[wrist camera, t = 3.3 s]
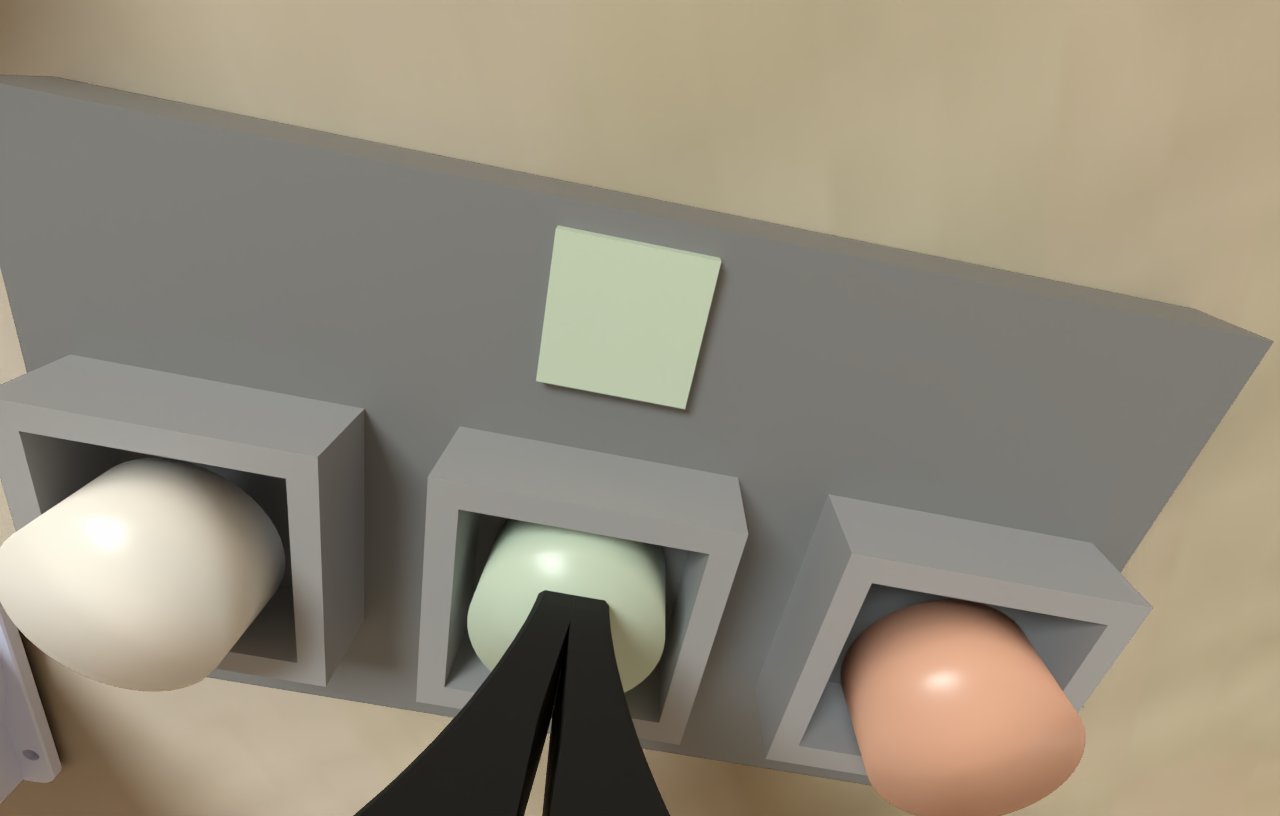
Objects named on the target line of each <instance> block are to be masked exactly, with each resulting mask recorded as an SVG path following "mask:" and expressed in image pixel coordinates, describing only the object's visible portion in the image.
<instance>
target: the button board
mask: <svg viewBox="0 0 1280 816" xmlns="http://www.w3.org/2000/svg"><path fill="white" fill-rule="evenodd" d="M0 267H1V271H2V275H3V279H4V283H5V287H6V291H7V295H8V299H9V303H10V307H11V311H12V315H13V319H14V323H15V327H16V331H17V335H18V339H19V343H20V347H21V351H22V355H23V359H24V363H25V367H26V371H27V373H26V374H24V375H22V376H19V377H17V378H15V379H13V380H10V381H8V382H6V383H3V384H1V385H0V479H1V482H2V486H3V489H4V493H5V496H6V499H7V503H8V506H9V510H10V513H11V516H12V520H13V523H14V527H15V530H16V532H17V531H18V530H20V529H21V528H23V527H24V526H26V525H27V524H28V523H30V522H31V521H33V520H34V519H36V518H37V517H39V516H40V515H42V514H43V513H45V512H46V511H48V510H49V509H51V508H52V507H54V506H55V505H57V504H58V503H60V502H61V501H63V500H64V499H66V498H67V497H69V496H70V495H72V494H73V493H75V492H76V491H78V490H79V489H81V488H82V487H84V486H85V485H87V484H88V483H90V482H91V481H93V480H94V479H96V478H97V477H99V476H100V475H102V474H103V473H105V472H106V471H108V470H109V469H111V468H112V467H114V466H116V465H119V464H121V463H123V462H127V461H131V460H135V459H142V458H166V459H174V460H179V461H183V462H187V463H191V464H194V465H197V466H200V467H203V468H205V469H207V470H209V471H212V472H214V473H216V474H218V475H220V476H222V477H223V478H225V479H227V480H229V481H230V482H232V483H233V484H235V485H236V486H238V487H239V488H240V489H242V490H243V491H244V492H245V493H247V494H248V495H249V496H250V497H251V498H252V499H253V500H254V501H255V502H256V503H257V504H258V505H259V506H260V507H261V508H262V509H263V510H264V512H265V513H266V514H267V515H268V517H269V518H270V520H271V521H272V523H273V524H274V526H275V528H276V530H277V532H278V534H279V536H280V538H281V541H282V544H283V548H284V553H285V572H284V577H283V580H282V582H281V584H280V586H279V588H278V589H277V591H276V593H275V594H274V595H273V596H272V598H271V599H270V600H269V602H268V603H267V604H266V605H265V607H264V608H263V609H262V610H261V612H260V613H259V614H258V615H257V617H256V618H255V619H254V621H253V622H252V623H251V624H250V626H249V627H248V628H247V629H246V631H245V632H244V633H243V634H242V636H241V637H240V638H239V640H238V641H237V642H236V643H235V645H234V646H233V647H232V648H231V650H230V651H229V652H228V653H227V655H226V656H225V657H224V659H223V660H222V661H221V662H220V664H219V665H218V666H217V667H216V668H215V669H214V671H213V672H212V673H211V674H210V675H208V676H207V677H209V678H215V679H221V680H227V681H233V682H240V683H246V684H252V685H258V686H264V687H270V688H276V689H282V690H289V691H295V692H301V693H307V694H313V695H319V696H325V697H332V698H338V699H344V700H350V701H356V702H362V703H368V704H374V705H381V706H387V707H393V708H399V709H405V710H411V711H417V712H423V713H430V714H436V715H442V716H448V717H454V718H455V716H456V715H457V714H458V713H459V712H460V711H461V709H462V708H463V707H464V706H465V705H466V704H467V702H468V701H469V700H470V699H471V697H472V696H473V695H474V693H475V692H476V691H477V690H478V688H479V687H480V686H481V685H482V683H483V682H484V681H485V679H486V678H487V677H488V676H489V674H490V673H491V671H490V670H489V669H488V668H487V667H486V666H485V665H484V664H483V663H482V661H481V660H480V658H479V657H478V656H477V654H476V652H475V650H474V648H473V646H472V644H471V641H470V638H469V633H468V627H467V616H468V611H469V606H470V604H471V601H472V599H473V596H474V593H475V591H476V588H477V586H478V583H479V580H480V578H481V575H482V573H483V570H484V568H485V565H486V562H487V560H488V557H489V555H490V552H491V550H492V547H493V544H494V542H495V539H496V537H497V535H498V533H499V531H500V529H501V528H502V526H503V525H504V524H505V523H506V522H507V520H508V519H515V520H520V521H526V522H532V523H537V524H543V525H549V526H554V527H560V528H565V529H571V530H577V531H582V532H588V533H593V534H599V535H605V536H610V537H616V538H621V539H627V540H633V541H638V542H644V543H649V544H655V545H660V546H661V548H662V551H663V554H664V558H665V565H666V578H665V644H664V649H663V652H662V655H661V658H660V660H659V662H658V663H657V665H656V667H655V668H654V670H653V671H652V672H651V673H650V674H649V676H648V677H646V678H645V679H644V680H643V681H642V682H641V683H640V684H638V685H637V686H635V687H634V688H632V689H630V690H628V691H627V692H625V693H624V694H625V698H626V701H627V705H628V708H629V712H630V715H631V718H632V721H633V724H634V727H635V730H636V733H637V736H638V739H639V742H640V745H641V748H644V749H650V750H656V751H662V752H669V753H675V754H681V755H687V756H693V757H699V758H705V759H711V760H718V761H724V762H730V763H736V764H742V765H748V766H754V767H760V768H767V769H773V770H779V771H785V772H791V773H797V774H803V775H810V776H816V777H822V778H828V779H834V780H840V781H846V782H852V783H859V784H865V785H871V786H872V784H871V783H870V781H869V778H868V776H867V773H866V769H865V766H864V763H863V759H862V756H861V752H860V749H859V745H858V742H857V739H856V735H855V732H854V728H853V725H852V722H851V718H850V715H849V711H848V708H847V704H846V701H845V698H844V694H843V691H842V686H841V681H840V672H841V666H842V662H843V660H844V657H845V655H846V653H847V651H848V649H849V647H850V646H851V645H852V643H853V642H854V641H855V639H856V638H857V637H858V636H859V635H860V634H861V633H862V632H863V631H864V630H865V629H867V628H868V627H869V626H870V625H872V624H873V623H874V622H876V621H878V620H879V619H881V618H882V617H884V616H886V615H888V614H890V613H892V612H894V611H897V610H899V609H902V608H905V607H907V606H911V605H915V604H918V603H924V602H929V601H938V600H962V601H970V602H975V603H979V604H984V605H986V606H989V607H992V608H995V609H996V610H998V611H1000V612H1002V613H1004V614H1006V615H1007V616H1008V617H1010V618H1011V619H1012V620H1014V621H1015V622H1016V623H1017V624H1018V625H1019V626H1020V628H1021V629H1022V631H1023V632H1024V633H1025V635H1026V636H1027V638H1028V640H1029V641H1030V643H1031V644H1032V646H1033V647H1034V649H1035V650H1036V652H1037V653H1038V655H1039V656H1040V658H1041V659H1042V661H1043V662H1044V664H1045V665H1046V667H1047V668H1048V670H1049V671H1050V673H1051V674H1052V676H1053V677H1054V679H1055V680H1056V682H1057V683H1058V685H1059V686H1060V688H1061V689H1062V691H1063V692H1064V694H1065V695H1066V697H1067V698H1068V700H1069V701H1070V703H1071V704H1072V706H1073V708H1074V709H1075V711H1076V712H1077V714H1078V713H1079V711H1080V710H1081V708H1082V707H1083V706H1084V704H1085V703H1086V701H1087V700H1088V699H1089V697H1090V696H1091V694H1092V693H1093V692H1094V690H1095V689H1096V687H1097V686H1098V685H1099V683H1100V682H1101V680H1102V679H1103V678H1104V676H1105V675H1106V673H1107V672H1108V671H1109V669H1110V668H1111V666H1112V665H1113V664H1114V662H1115V661H1116V659H1117V658H1118V657H1119V655H1120V654H1121V652H1122V651H1123V650H1124V648H1125V647H1126V645H1127V644H1128V643H1129V641H1130V640H1131V638H1132V637H1133V635H1134V634H1135V633H1136V631H1137V630H1138V628H1139V627H1140V626H1141V624H1142V623H1143V621H1144V620H1145V619H1146V617H1147V616H1148V614H1149V613H1150V612H1151V610H1152V609H1153V607H1152V606H1151V605H1150V604H1149V603H1148V601H1147V600H1146V599H1145V598H1144V597H1143V596H1142V595H1141V594H1140V593H1139V592H1138V591H1137V590H1136V589H1135V588H1134V587H1133V586H1132V585H1131V584H1130V582H1129V581H1128V580H1127V579H1126V578H1125V577H1124V576H1123V575H1122V574H1121V571H1122V570H1123V568H1124V567H1125V565H1126V564H1127V562H1128V560H1129V559H1130V557H1131V556H1132V554H1133V553H1134V551H1135V550H1136V548H1137V547H1138V545H1139V544H1140V542H1141V541H1142V539H1143V538H1144V536H1145V535H1146V533H1147V532H1148V530H1149V529H1150V527H1151V526H1152V524H1153V523H1154V521H1155V520H1156V518H1157V517H1158V515H1159V514H1160V512H1161V511H1162V509H1163V508H1164V506H1165V505H1166V503H1167V502H1168V500H1169V499H1170V497H1171V496H1172V494H1173V493H1174V491H1175V490H1176V488H1177V487H1178V485H1179V484H1180V482H1181V481H1182V479H1183V478H1184V476H1185V474H1186V473H1187V471H1188V470H1189V468H1190V467H1191V465H1192V464H1193V462H1194V461H1195V459H1196V458H1197V456H1198V455H1199V453H1200V452H1201V450H1202V449H1203V447H1204V446H1205V444H1206V443H1207V441H1208V440H1209V438H1210V437H1211V435H1212V434H1213V432H1214V431H1215V429H1216V428H1217V426H1218V425H1219V423H1220V422H1221V420H1222V419H1223V417H1224V416H1225V414H1226V413H1227V411H1228V410H1229V408H1230V407H1231V405H1232V404H1233V402H1234V401H1235V399H1236V398H1237V396H1238V395H1239V393H1240V392H1241V390H1242V388H1243V387H1244V385H1245V384H1246V382H1247V381H1248V379H1249V378H1250V376H1251V375H1252V373H1253V372H1254V370H1255V369H1256V367H1257V366H1258V364H1259V363H1260V361H1261V360H1262V358H1263V357H1264V355H1265V354H1266V352H1267V351H1268V349H1269V348H1270V346H1271V345H1272V343H1273V342H1274V341H1272V340H1270V339H1267V338H1265V337H1262V336H1260V335H1257V334H1255V333H1252V332H1250V331H1247V330H1245V329H1242V328H1240V327H1238V326H1235V325H1233V324H1230V323H1228V322H1225V321H1223V320H1220V319H1218V318H1215V317H1213V316H1211V315H1208V314H1206V313H1203V312H1201V311H1198V310H1196V309H1191V308H1186V307H1181V306H1176V305H1172V304H1167V303H1162V302H1157V301H1152V300H1147V299H1142V298H1137V297H1132V296H1127V295H1122V294H1118V293H1113V292H1108V291H1103V290H1098V289H1093V288H1088V287H1083V286H1078V285H1073V284H1068V283H1064V282H1059V281H1054V280H1049V279H1044V278H1039V277H1034V276H1029V275H1024V274H1019V273H1014V272H1010V271H1005V270H1000V269H995V268H990V267H985V266H980V265H975V264H970V263H965V262H960V261H956V260H951V259H946V258H941V257H936V256H931V255H926V254H921V253H916V252H911V251H907V250H902V249H897V248H892V247H887V246H882V245H877V244H872V243H867V242H862V241H857V240H853V239H848V238H843V237H838V236H833V235H828V234H823V233H818V232H813V231H808V230H803V229H799V228H794V227H789V226H784V225H779V224H774V223H769V222H764V221H759V220H754V219H749V218H745V217H740V216H735V215H730V214H725V213H720V212H715V211H710V210H705V209H700V208H695V207H691V206H686V205H681V204H676V203H671V202H666V201H661V200H656V199H651V198H646V197H641V196H637V195H632V194H627V193H622V192H617V191H612V190H607V189H602V188H597V187H592V186H587V185H583V184H578V183H573V182H568V181H563V180H558V179H553V178H548V177H543V176H538V175H533V174H529V173H524V172H519V171H514V170H509V169H504V168H499V167H494V166H489V165H484V164H479V163H475V162H470V161H465V160H460V159H455V158H450V157H445V156H440V155H435V154H430V153H425V152H421V151H416V150H411V149H406V148H401V147H396V146H391V145H386V144H381V143H376V142H372V141H367V140H362V139H357V138H352V137H347V136H342V135H337V134H332V133H327V132H322V131H318V130H313V129H308V128H303V127H298V126H293V125H288V124H283V123H278V122H273V121H268V120H264V119H259V118H254V117H249V116H244V115H239V114H234V113H229V112H224V111H219V110H214V109H210V108H205V107H200V106H195V105H190V104H185V103H180V102H175V101H170V100H165V99H160V98H156V97H151V96H146V95H141V94H136V93H131V92H126V91H121V90H116V89H111V88H106V87H102V86H97V85H92V84H87V83H82V82H77V81H72V80H67V79H62V78H57V77H50V76H17V75H0ZM551 722H552V718H551ZM551 722H550V725H549V729H548V732H547V733H550V732H551Z"/></svg>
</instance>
